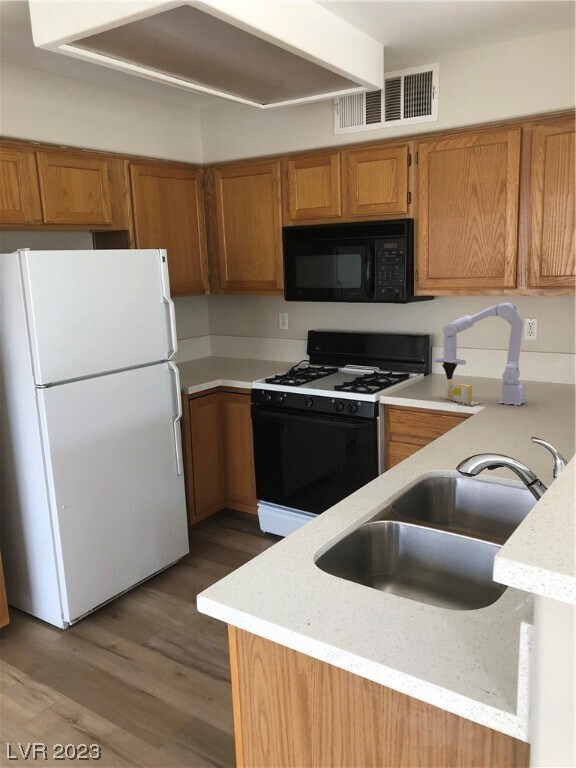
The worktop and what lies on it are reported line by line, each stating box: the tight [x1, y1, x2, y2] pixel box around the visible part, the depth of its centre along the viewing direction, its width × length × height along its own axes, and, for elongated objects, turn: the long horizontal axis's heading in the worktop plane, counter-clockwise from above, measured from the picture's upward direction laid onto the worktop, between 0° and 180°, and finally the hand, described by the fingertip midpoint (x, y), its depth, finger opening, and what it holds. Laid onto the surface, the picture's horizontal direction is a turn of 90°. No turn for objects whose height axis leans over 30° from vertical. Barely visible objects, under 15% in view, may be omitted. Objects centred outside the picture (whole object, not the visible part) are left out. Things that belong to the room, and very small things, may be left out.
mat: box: [457, 403, 478, 408], centre depth 271 cm, size 7×10×1 cm
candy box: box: [445, 381, 473, 405], centre depth 274 cm, size 16×2×8 cm, turn 22°
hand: (449, 379), depth 280 cm, fingers closed
